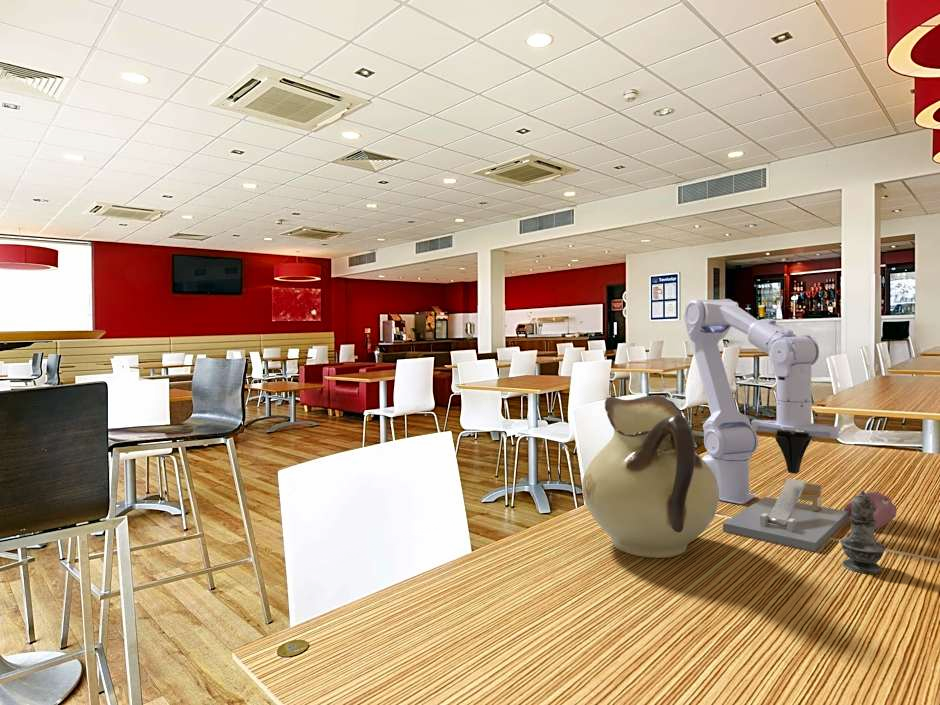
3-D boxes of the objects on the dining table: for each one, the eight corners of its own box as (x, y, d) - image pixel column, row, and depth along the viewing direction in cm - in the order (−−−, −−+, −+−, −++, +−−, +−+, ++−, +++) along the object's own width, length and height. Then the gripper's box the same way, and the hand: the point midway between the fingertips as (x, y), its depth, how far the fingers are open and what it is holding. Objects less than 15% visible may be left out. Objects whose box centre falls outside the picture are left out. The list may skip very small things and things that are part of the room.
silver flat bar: (768, 523, 106) (767, 519, 106) (788, 482, 114) (787, 477, 113) (786, 527, 104) (785, 523, 103) (805, 484, 112) (804, 480, 111)
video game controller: (886, 541, 106) (907, 507, 105) (861, 528, 106) (881, 495, 105) (863, 523, 115) (881, 492, 114) (839, 511, 116) (857, 481, 115)
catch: (786, 505, 117) (786, 483, 117) (791, 502, 119) (791, 480, 119) (817, 511, 113) (817, 488, 113) (821, 507, 115) (821, 484, 115)
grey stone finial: (878, 561, 93) (879, 486, 92) (891, 577, 87) (892, 496, 87) (835, 557, 95) (835, 483, 94) (845, 572, 89) (845, 493, 89)
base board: (723, 531, 108) (722, 513, 108) (765, 503, 124) (765, 488, 123) (815, 551, 97) (815, 532, 97) (848, 519, 113) (848, 502, 113)
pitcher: (626, 515, 118) (624, 390, 117) (748, 545, 101) (748, 400, 100) (557, 547, 102) (555, 404, 101) (689, 589, 85) (688, 417, 84)
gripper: (745, 399, 113) (745, 470, 113) (832, 405, 103) (831, 483, 103) (758, 396, 118) (758, 463, 118) (842, 401, 108) (842, 475, 108)
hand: (793, 472), depth 111 cm, fingers closed
